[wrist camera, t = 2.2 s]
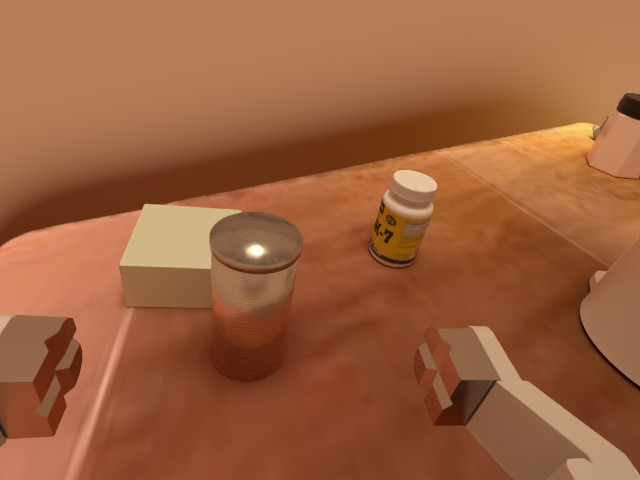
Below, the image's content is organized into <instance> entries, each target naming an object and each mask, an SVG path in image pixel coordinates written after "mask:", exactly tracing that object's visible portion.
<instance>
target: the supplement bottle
mask: <svg viewBox="0 0 640 480" xmlns="http://www.w3.org/2000/svg"><path fill="white" fill-rule="evenodd" d="M436 190H437V184H436V182H435V181H434V180H433V179H432V178H430V177H429V176H427V175H425V174H422V173H419V172H416V171H411V170H400V171H397V172H396V173H395V174H394V176H393V178H392V181H391V183H390V189H389V190H388V191H386V192H385V194H384V196H383V199H382V202H381V205H380V209H379V212H378V216H377V219H376V223H375V226H374V230H373V233H372V237H371V240H370V244H369V250H370V252H371V254H372V255H373V257H374V258H375V259H376V260H378V261H379V262H381V263H382V264H385V265H387V266H391V267H405V266H408V265H410V264H412V263H413V261H414V260H415V257H416V255H417V252H418V250H419V247H420V244H421V242H422V239H423V236H424V234H425V231H426V229H427V226H428V223H429V221H430V218H431V216H432V213H433V204H432V201H433V199H434V196H435V193H436Z"/></svg>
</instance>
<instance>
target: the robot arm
mask: <svg viewBox="0 0 640 480" xmlns="http://www.w3.org/2000/svg"><path fill="white" fill-rule="evenodd" d="M589 284H590V290H591V291H590V293H589V294H588V295H587V296H586V297H585V298H584V299H583V301H582V303H581V306H580V317H581V321H582V323H583V326H584V328H585V330H586V332H587V334H588V335H589V337H590V338H591V340H592V341H593V343H594V344H595V345H596V346H597V348H598V349H599V350H600V351H601V352H602V354H603V355H604V356H605V357H606V358H607V359H608V360H609V361H610V362H611V363H612V364H613V365H614V366H615V367H617V368H618V369H619V370H620V371H621V372H622V373H623V374H625V375H626V376H627V377H628V378H630V379H631V380H632V381H633V382H635V383H636V384H637V385H639V386H640V237H639V238H638V239H637V240H636V241H635V242H634V243H633V244H632V245H631V246H630V247H629V248H628V249H627V250H626V251H625V253H624V254H623V255H622V256H621V257H620V258H619V259H618V260H617V261H616V262H615V263H614V264H613V266H612V267H611V268H610V269H609V270H608V271H607V272H606V271H597V272H595V273H594V275H593V276H592V277H591V278H590V280H589ZM75 331H76V326H75V323H74V320H73V318H68V317H46V316H25V315H0V447H1V446H2V445H3V444H4V443H5V442H6V439H16V438H34V437H53V436H54V435H55V433H56V430H57V428H58V426H59V423H60V421H61V419H62V416H63V414H64V411H65V409H66V407H67V405H66V402H65V399H64V395H65V394H66V393H67V392H69V391H70V390H71V389H72V388H74V387H75V385H76V382H77V379H78V377H79V374H80V369H81V364H82V349H81V345H80V343H79V342H78V341H76V340H75V339H74V338H73V336H74V333H75ZM424 338H425V340H426V342H425V343H424V344H422V345H421V346H419V347H418V349H417V351H416V354H415V356H414V370H415V376H416V379H417V382H418V384H419V385H420V386H421V387H422V388H423V389H424V390H425V391H426V392H427V394H426V397H425V400H424V401H425V404H426V407H427V409H428V412H429V415H430V417H431V420H432V423H433V426H466V427H465V428H466V429H467V430H468V431H469V432H470V433H471V434H472V435H473V436H474V438H475V439H476V440H477V441H478V442H479V443H480V444H481V445H482V446H483V447H484V449H485V450H486V451H487V452H488V453H489V454H490V455H491V456H492V457H493V458H494V459H495V461H496V462H497V463H498V464H499V465H500V466H501V467H502V468H503V469H504V470H505V472H506V473H507V474H508V475H509V476H510V477H511V478H512V479H513V480H640V474H639V473H638V472H637V470H636V469H635V467H634V466H633V465H632V463H631V462H630V460H629V459H628V458H627V456H626V455H625V454H624V453H623V452H621V451H620V450H619V449H617V448H616V447H615V446H613V445H612V444H611V443H609V442H608V441H607V440H605V439H604V438H603V437H601V436H600V435H599V434H597V433H596V432H595V431H593V430H592V429H591V428H589V427H588V426H587V425H585V424H584V423H583V422H581V421H580V420H579V419H577V418H576V417H575V416H573V415H572V414H571V413H570V412H568V411H567V410H566V409H564V408H563V407H562V406H560V405H559V404H558V403H556V402H555V401H554V400H552V399H551V398H550V397H548V396H547V395H546V394H544V393H543V392H542V391H540V390H539V389H538V388H536V387H535V386H534V385H532V384H531V383H530V382H528V381H522V380H521V378H520V376H519V375H518V373H517V371H516V370H515V368H514V367H513V365H512V363H511V362H510V360H509V358H508V357H507V355H506V353H505V352H504V350H503V348H502V347H501V345H500V343H499V342H498V340H497V338H496V337H495V335H494V333H493V332H492V330H491V329H489V328H488V327H487V326H432V325H431V326H430V327H429V328H427V330H426V332H425V334H424Z"/></svg>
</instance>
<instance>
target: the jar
mask: <svg viewBox="0 0 640 480" xmlns="http://www.w3.org/2000/svg"><path fill="white" fill-rule="evenodd" d="M586 158H587V161H588V163H589V166H591V167H593V168H596V169H598V170H600V171H602V172H605V173H607V174H609V175H611V176H614V177H621V178H630V179H637V178H638V177H639V176H640V94H634V93H626V94H625V95H624V96H623V98H622V99H621V100H620V102H619V105H618V106H617V108H614V110H613V111H612V113H611V115H610V117H609V118H608V120H607V122H606V123H605V125H604V127H603V129H602V130H601V132H600V134H599V135H598V137H597V139H596V141H595V142H594V144H593V146H592V147H591V149H590V151H589V153H588V154H587V156H586Z"/></svg>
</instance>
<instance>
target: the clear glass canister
mask: <svg viewBox="0 0 640 480" xmlns="http://www.w3.org/2000/svg"><path fill="white" fill-rule="evenodd" d="M302 245H303V239H302V235H301V233H300V231H299V230H298V229H297V228H296V227H295V226H294V225H293V224H292V223H290V222H289V221H287V220H285V219H284V218H281V217H279V216H276V215H273V214H269V213H263V212H241V213H236V214H232V215H229V216H227V217H224V218H223V219H221V220H219V221H218V222H217V223H216V224H215V225H214V226H213V227H212V229H211V231H210V234H209V246H210V250H211V355H212V360H213V363H214V365H215V367H216V368H217V369H218V370H219V371H220V372H221V373H222V374H223V375H225V376H226V377H228V378H231V379H233V380H237V381H245V382H249V381H256V380H260V379H263V378H265V377H267V376H269V375H270V374H272V373H273V372H274V371H275V370H276V369H277V368H278V367H279V365H280V363H281V361H282V358H283V353H284V346H285V340H286V334H287V327H288V321H289V315H290V309H291V302H292V296H293V290H294V284H295V277H296V271H297V265H298V259H299V257H300V255H301V251H302Z"/></svg>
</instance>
